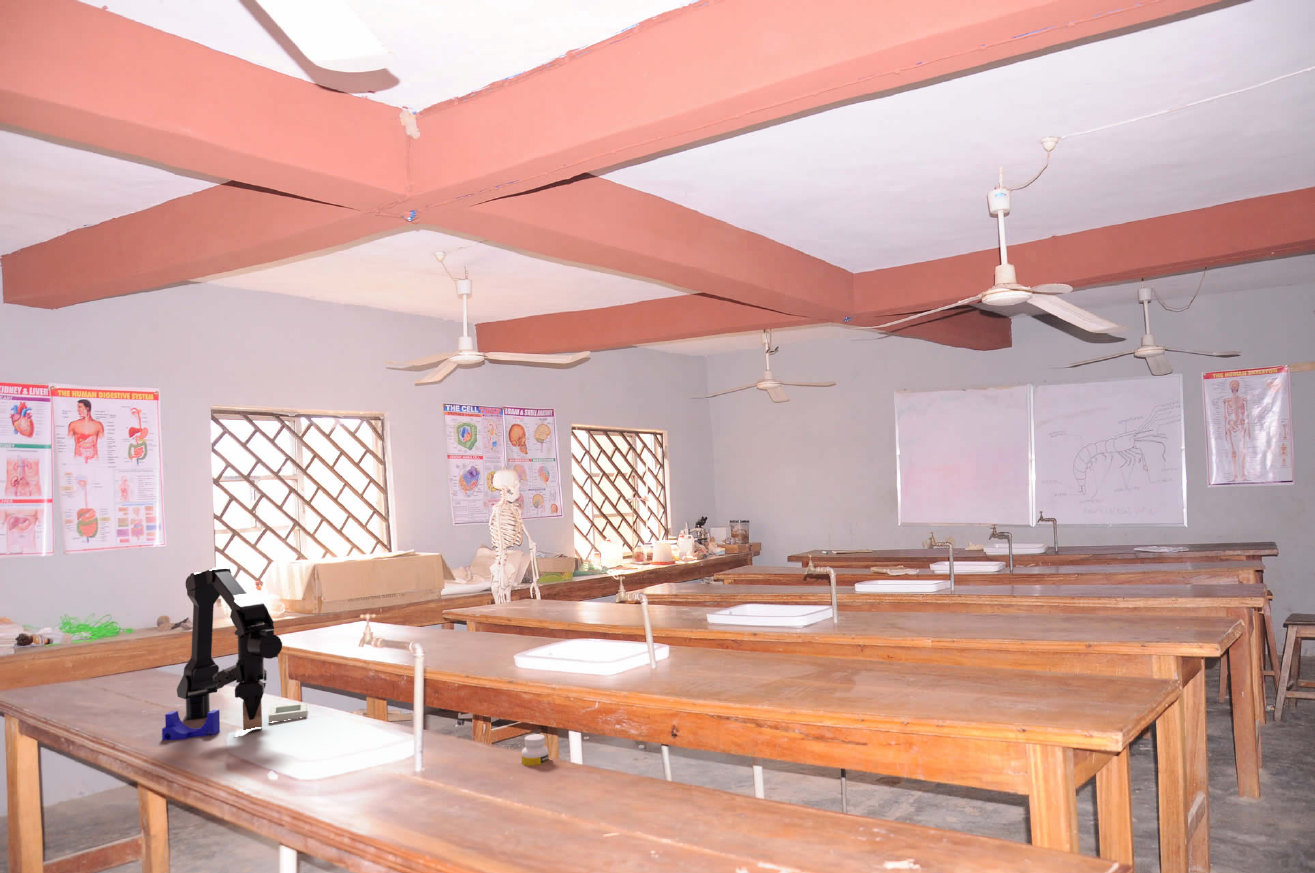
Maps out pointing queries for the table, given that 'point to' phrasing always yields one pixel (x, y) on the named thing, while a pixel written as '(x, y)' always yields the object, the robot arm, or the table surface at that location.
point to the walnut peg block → (256, 721)
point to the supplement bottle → (534, 750)
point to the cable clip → (181, 731)
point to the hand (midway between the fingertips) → (252, 717)
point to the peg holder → (287, 712)
